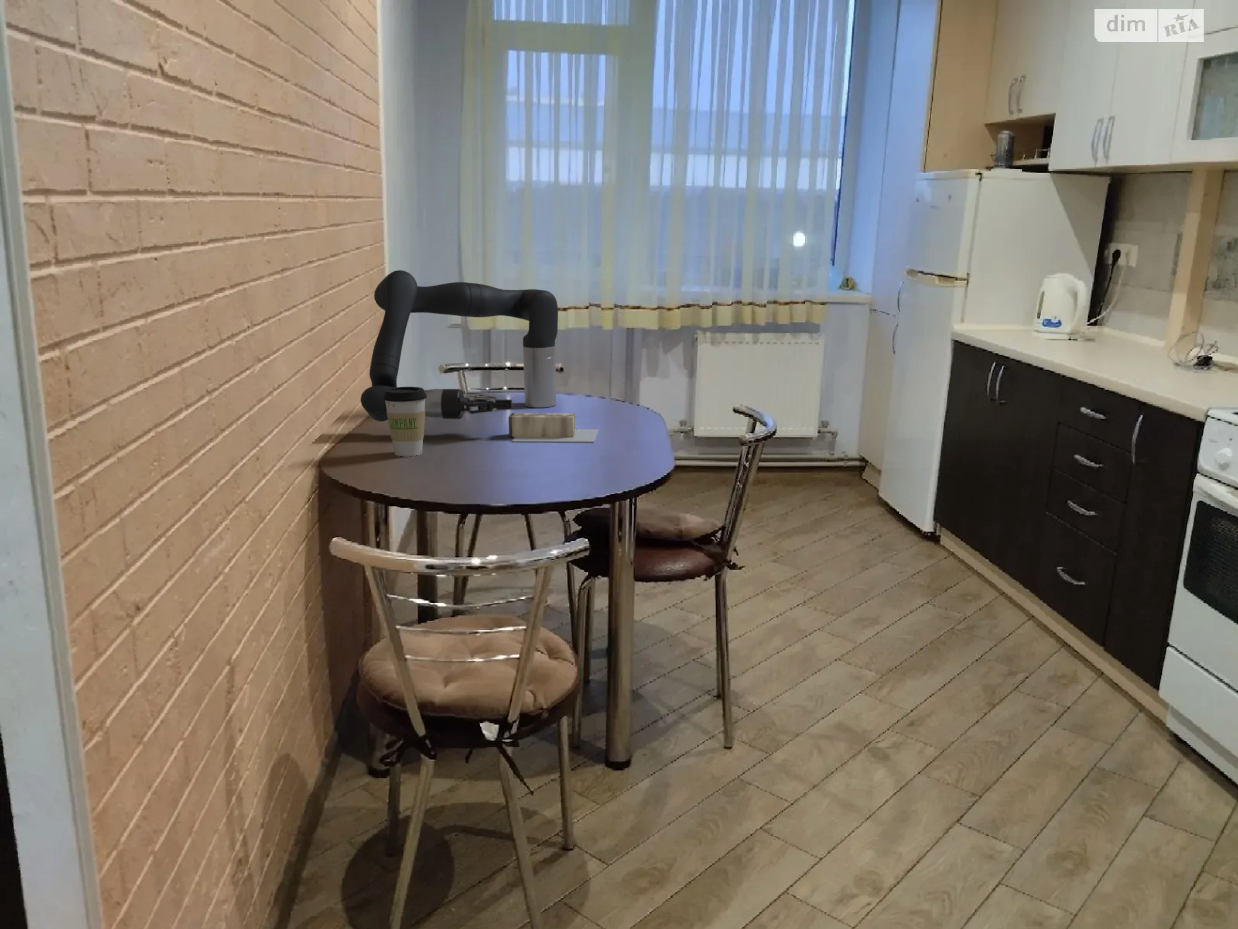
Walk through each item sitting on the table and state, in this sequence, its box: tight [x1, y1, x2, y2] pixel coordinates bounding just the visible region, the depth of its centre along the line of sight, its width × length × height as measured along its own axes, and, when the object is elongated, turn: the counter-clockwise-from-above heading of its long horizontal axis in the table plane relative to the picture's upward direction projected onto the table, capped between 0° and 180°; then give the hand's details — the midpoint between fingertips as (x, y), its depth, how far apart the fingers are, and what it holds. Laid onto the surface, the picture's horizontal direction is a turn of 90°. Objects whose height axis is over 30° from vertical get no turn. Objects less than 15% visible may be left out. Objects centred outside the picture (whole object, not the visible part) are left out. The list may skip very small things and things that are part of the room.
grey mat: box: [511, 428, 600, 444], centre depth 243 cm, size 14×20×1 cm
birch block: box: [508, 412, 577, 438], centre depth 243 cm, size 5×5×16 cm
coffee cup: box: [383, 386, 427, 458], centre depth 224 cm, size 10×10×15 cm
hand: (511, 404), depth 242 cm, fingers closed
